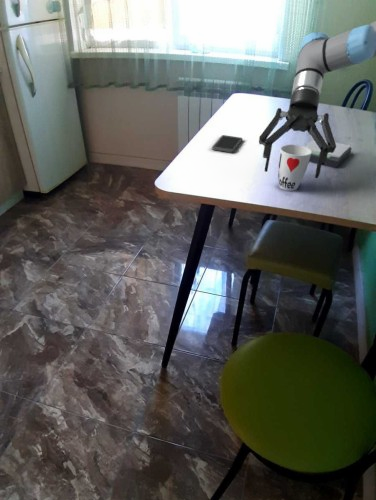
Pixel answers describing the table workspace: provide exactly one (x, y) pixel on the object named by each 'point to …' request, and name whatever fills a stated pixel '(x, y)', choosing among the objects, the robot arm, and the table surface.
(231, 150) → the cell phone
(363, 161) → the table surface
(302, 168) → the cup
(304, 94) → the robot arm
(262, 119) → the table surface
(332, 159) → the scale
